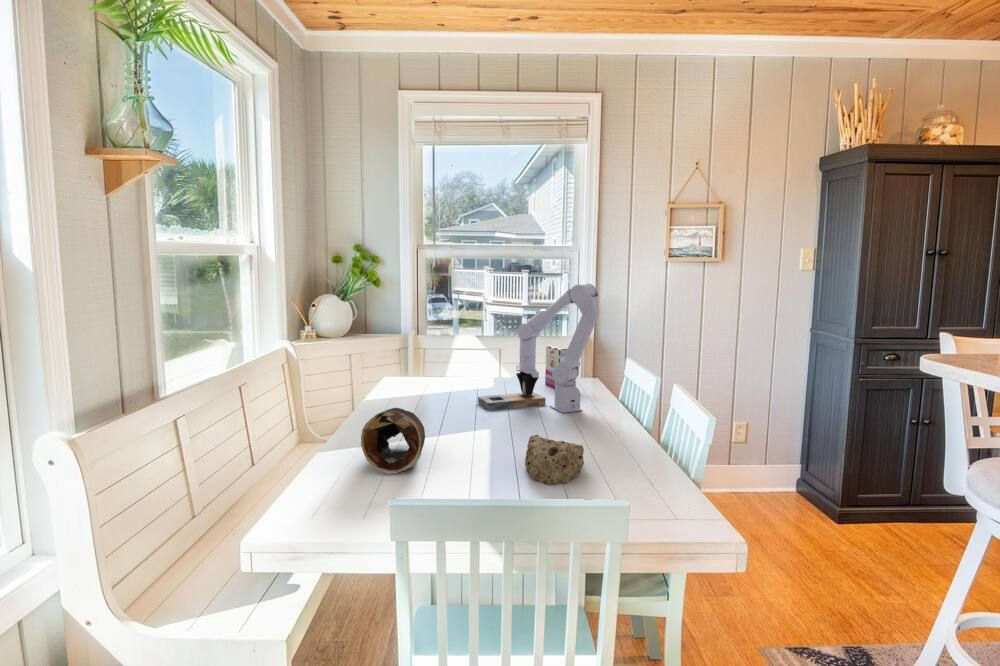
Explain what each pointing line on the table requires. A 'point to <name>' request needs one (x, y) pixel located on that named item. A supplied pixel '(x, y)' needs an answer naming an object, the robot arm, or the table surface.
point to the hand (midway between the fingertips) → (526, 393)
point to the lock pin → (525, 392)
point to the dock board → (510, 401)
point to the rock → (553, 460)
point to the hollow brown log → (386, 428)
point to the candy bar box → (553, 362)
